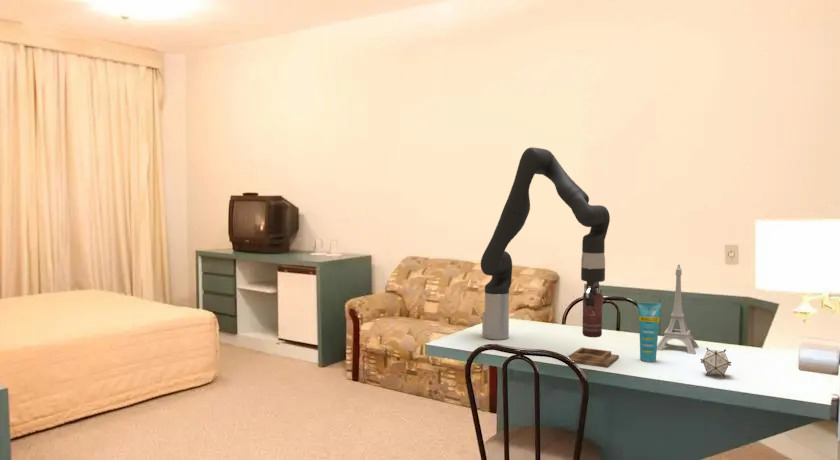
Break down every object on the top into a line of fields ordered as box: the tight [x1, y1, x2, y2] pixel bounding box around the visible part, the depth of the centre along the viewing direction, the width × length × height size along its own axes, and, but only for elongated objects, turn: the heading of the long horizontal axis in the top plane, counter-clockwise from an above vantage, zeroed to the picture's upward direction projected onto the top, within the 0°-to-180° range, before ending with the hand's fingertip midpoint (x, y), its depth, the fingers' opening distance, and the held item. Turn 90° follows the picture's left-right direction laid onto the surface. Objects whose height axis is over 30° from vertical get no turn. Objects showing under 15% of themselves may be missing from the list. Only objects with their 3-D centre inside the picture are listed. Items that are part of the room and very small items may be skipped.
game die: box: [700, 347, 732, 378], centre depth 190 cm, size 9×8×10 cm
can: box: [582, 293, 604, 338], centre depth 208 cm, size 6×6×14 cm
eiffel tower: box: [657, 264, 700, 355], centre depth 225 cm, size 13×13×30 cm
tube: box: [636, 301, 662, 363], centre depth 208 cm, size 7×5×19 cm, turn 73°
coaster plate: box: [567, 347, 620, 369], centre depth 209 cm, size 14×14×2 cm
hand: (592, 318), depth 208 cm, fingers closed
